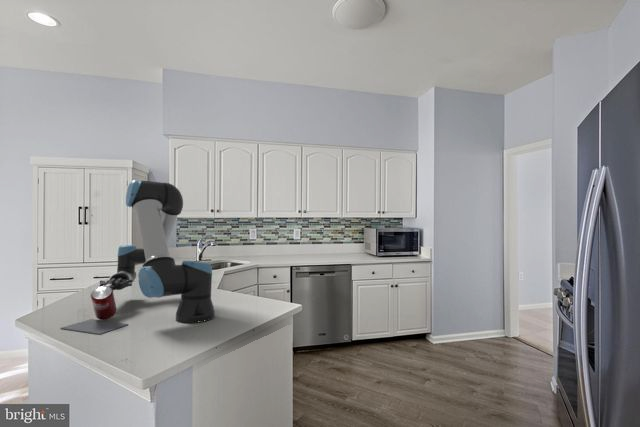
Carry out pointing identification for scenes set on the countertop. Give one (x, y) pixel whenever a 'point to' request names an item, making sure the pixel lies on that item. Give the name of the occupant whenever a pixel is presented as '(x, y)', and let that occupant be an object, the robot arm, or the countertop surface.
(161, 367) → the countertop surface
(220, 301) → the countertop surface
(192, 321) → the robot arm
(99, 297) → the soda can
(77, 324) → the mat
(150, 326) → the countertop surface
